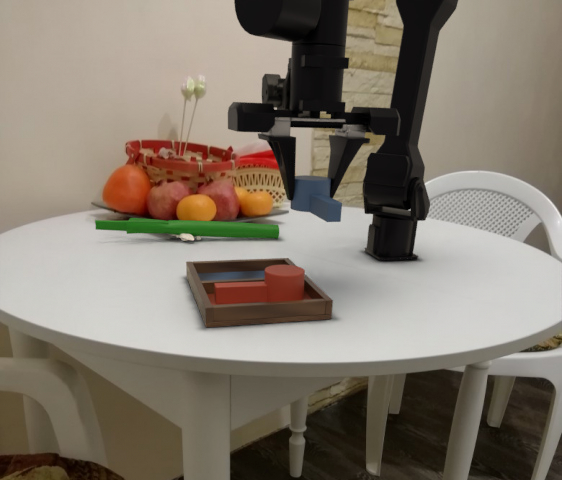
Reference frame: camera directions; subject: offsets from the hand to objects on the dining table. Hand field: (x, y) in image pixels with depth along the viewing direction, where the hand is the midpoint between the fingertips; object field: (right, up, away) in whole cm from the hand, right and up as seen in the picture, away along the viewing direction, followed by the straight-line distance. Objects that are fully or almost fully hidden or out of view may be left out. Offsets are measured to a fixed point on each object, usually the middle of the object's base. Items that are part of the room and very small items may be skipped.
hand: (309, 199), depth 65 cm
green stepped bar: (-19, +2, +27) cm, 33 cm away
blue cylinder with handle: (+1, -2, -2) cm, 3 cm away
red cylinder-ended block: (-6, -12, -2) cm, 14 cm away
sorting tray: (-7, -11, +2) cm, 13 cm away
